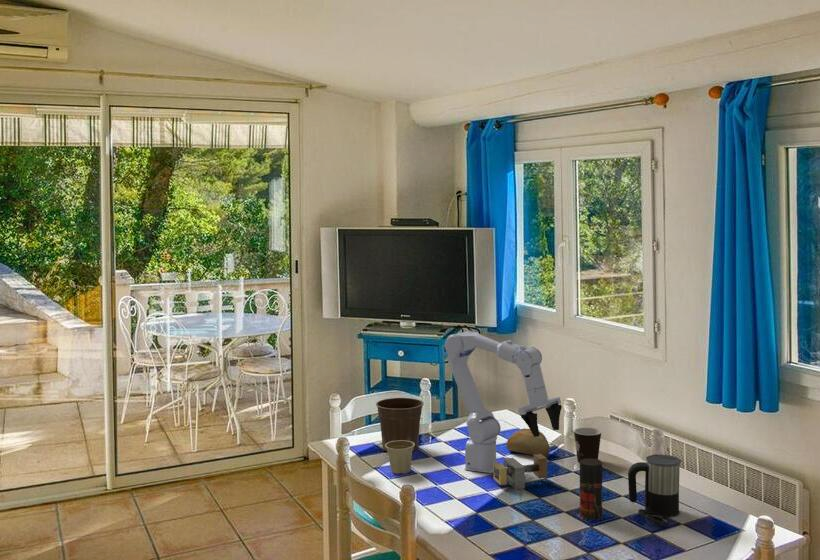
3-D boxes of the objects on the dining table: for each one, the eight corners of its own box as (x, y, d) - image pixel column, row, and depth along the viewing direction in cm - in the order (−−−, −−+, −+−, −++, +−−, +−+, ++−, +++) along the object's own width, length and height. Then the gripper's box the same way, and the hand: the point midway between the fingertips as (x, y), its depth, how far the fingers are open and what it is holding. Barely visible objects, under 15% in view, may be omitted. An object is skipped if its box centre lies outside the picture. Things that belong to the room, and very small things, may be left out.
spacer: (500, 485, 255) (500, 468, 254) (493, 478, 260) (493, 462, 260) (506, 484, 255) (506, 468, 254) (499, 478, 261) (499, 462, 260)
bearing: (515, 489, 254) (515, 468, 253) (503, 479, 263) (503, 458, 262) (524, 488, 255) (524, 467, 254) (513, 478, 264) (512, 457, 263)
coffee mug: (601, 466, 273) (601, 435, 272) (573, 465, 275) (573, 434, 274) (600, 454, 284) (600, 425, 283) (574, 453, 286) (574, 424, 285)
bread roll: (512, 446, 296) (512, 424, 295) (554, 452, 289) (554, 429, 288) (501, 454, 287) (501, 431, 286) (544, 460, 280) (544, 436, 279)
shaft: (497, 483, 255) (497, 463, 254) (492, 478, 259) (492, 459, 259) (547, 477, 259) (546, 458, 258) (541, 472, 263) (541, 453, 263)
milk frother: (671, 504, 240) (672, 452, 238) (697, 526, 224) (698, 471, 223) (622, 508, 238) (622, 456, 236) (645, 530, 222) (646, 475, 221)
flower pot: (380, 474, 270) (380, 447, 269) (392, 465, 279) (392, 439, 278) (408, 477, 267) (408, 450, 266) (419, 467, 275) (419, 441, 274)
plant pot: (403, 438, 307) (402, 394, 305) (434, 448, 295) (433, 402, 293) (367, 448, 297) (366, 402, 295) (397, 459, 284) (396, 411, 283)
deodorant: (577, 512, 236) (577, 458, 234) (598, 510, 236) (598, 457, 235) (583, 520, 230) (583, 466, 228) (605, 519, 230) (605, 464, 229)
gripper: (524, 393, 251) (535, 439, 250) (562, 382, 258) (573, 426, 257) (510, 394, 257) (521, 439, 256) (548, 383, 264) (558, 427, 263)
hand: (546, 433), depth 257 cm, fingers open, 7 cm apart
